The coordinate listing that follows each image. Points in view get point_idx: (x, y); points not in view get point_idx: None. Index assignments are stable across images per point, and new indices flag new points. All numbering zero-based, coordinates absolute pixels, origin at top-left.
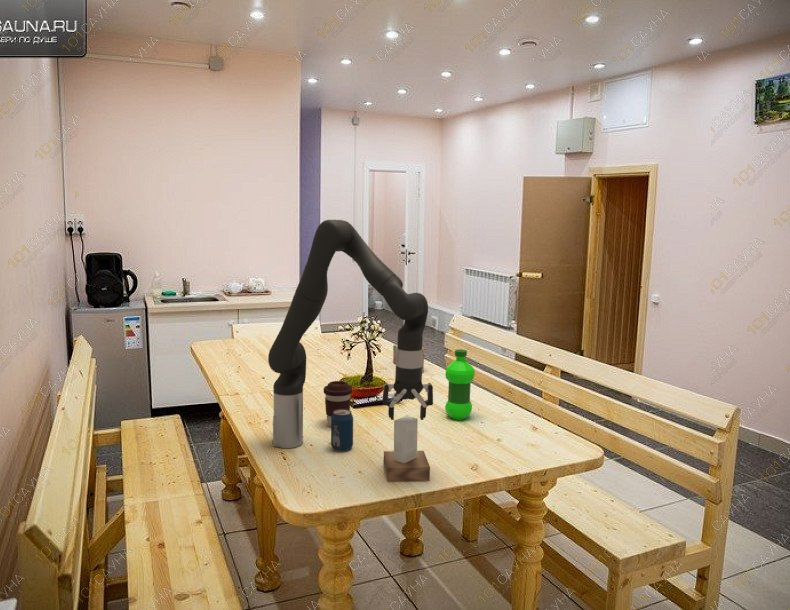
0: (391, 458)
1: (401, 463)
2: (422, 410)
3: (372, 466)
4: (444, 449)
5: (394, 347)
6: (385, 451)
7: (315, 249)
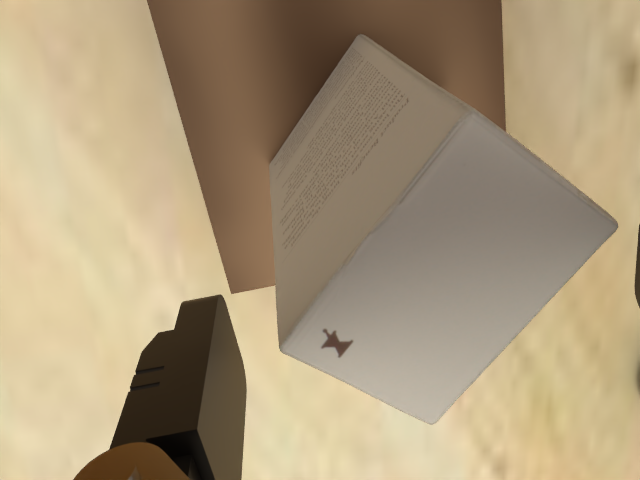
0: None
1: (383, 39)
2: (183, 395)
3: (545, 162)
4: None
5: None
6: None
7: None
